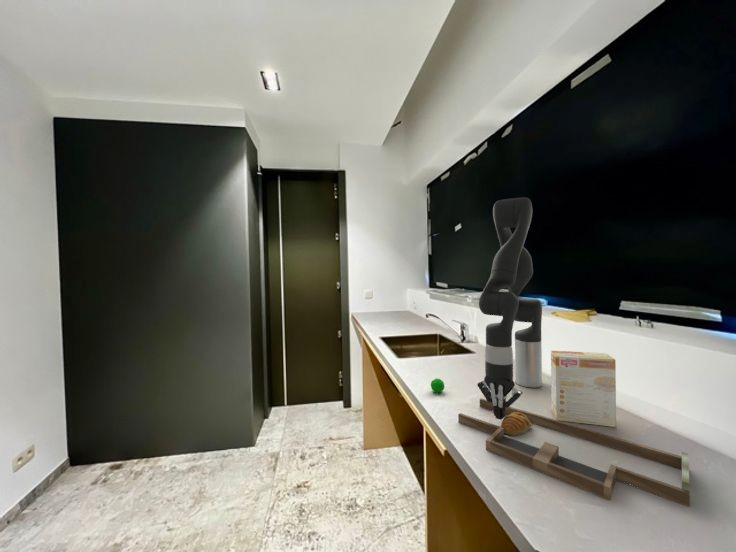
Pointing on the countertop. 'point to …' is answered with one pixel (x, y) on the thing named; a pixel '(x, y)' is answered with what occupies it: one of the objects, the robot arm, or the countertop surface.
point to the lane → (546, 465)
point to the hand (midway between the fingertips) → (499, 418)
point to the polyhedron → (437, 385)
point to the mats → (557, 460)
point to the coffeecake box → (583, 387)
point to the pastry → (516, 424)
